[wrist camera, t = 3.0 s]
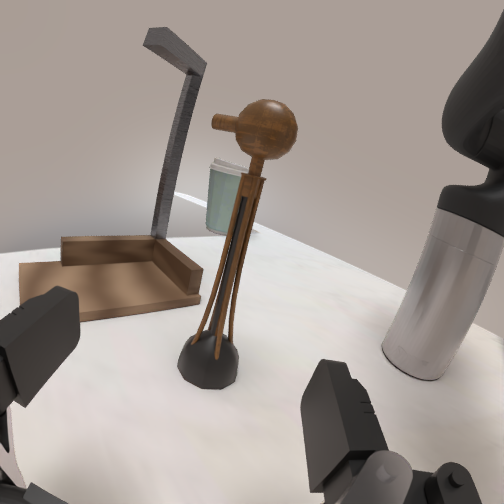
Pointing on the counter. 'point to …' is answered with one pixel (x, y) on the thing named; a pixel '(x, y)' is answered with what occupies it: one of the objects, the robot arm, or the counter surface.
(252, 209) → the wooden tabletop sculpture
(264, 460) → the counter surface
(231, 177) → the disposable coffee cup
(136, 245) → the stand
